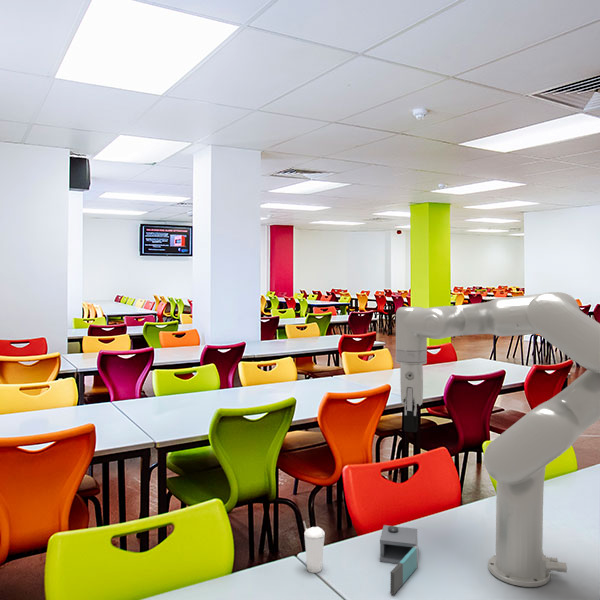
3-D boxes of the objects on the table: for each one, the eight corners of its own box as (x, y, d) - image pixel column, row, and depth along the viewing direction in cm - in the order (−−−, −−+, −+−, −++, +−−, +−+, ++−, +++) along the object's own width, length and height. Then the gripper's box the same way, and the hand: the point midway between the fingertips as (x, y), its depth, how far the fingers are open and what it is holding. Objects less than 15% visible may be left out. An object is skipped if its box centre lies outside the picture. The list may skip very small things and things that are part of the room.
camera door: (414, 564, 123) (414, 545, 123) (418, 566, 123) (418, 546, 122) (390, 593, 112) (390, 571, 112) (394, 594, 111) (394, 573, 111)
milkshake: (309, 561, 125) (309, 517, 125) (328, 568, 122) (328, 524, 122) (297, 568, 122) (297, 524, 122) (316, 577, 118) (316, 531, 118)
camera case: (417, 549, 131) (417, 526, 131) (415, 566, 123) (415, 541, 123) (383, 545, 133) (383, 522, 133) (379, 561, 125) (379, 537, 125)
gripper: (425, 361, 127) (425, 440, 127) (427, 353, 141) (427, 424, 142) (393, 360, 129) (392, 438, 129) (398, 352, 143) (397, 422, 144)
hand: (410, 430), depth 136 cm, fingers closed
